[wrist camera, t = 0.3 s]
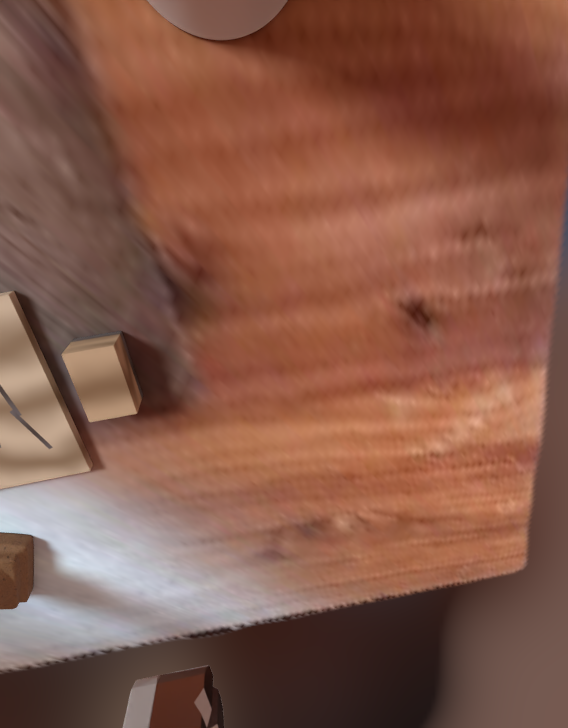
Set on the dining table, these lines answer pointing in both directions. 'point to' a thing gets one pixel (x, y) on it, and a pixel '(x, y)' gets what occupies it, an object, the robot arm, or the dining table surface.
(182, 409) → the dining table surface
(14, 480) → the board
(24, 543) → the candle holder
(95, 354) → the block
